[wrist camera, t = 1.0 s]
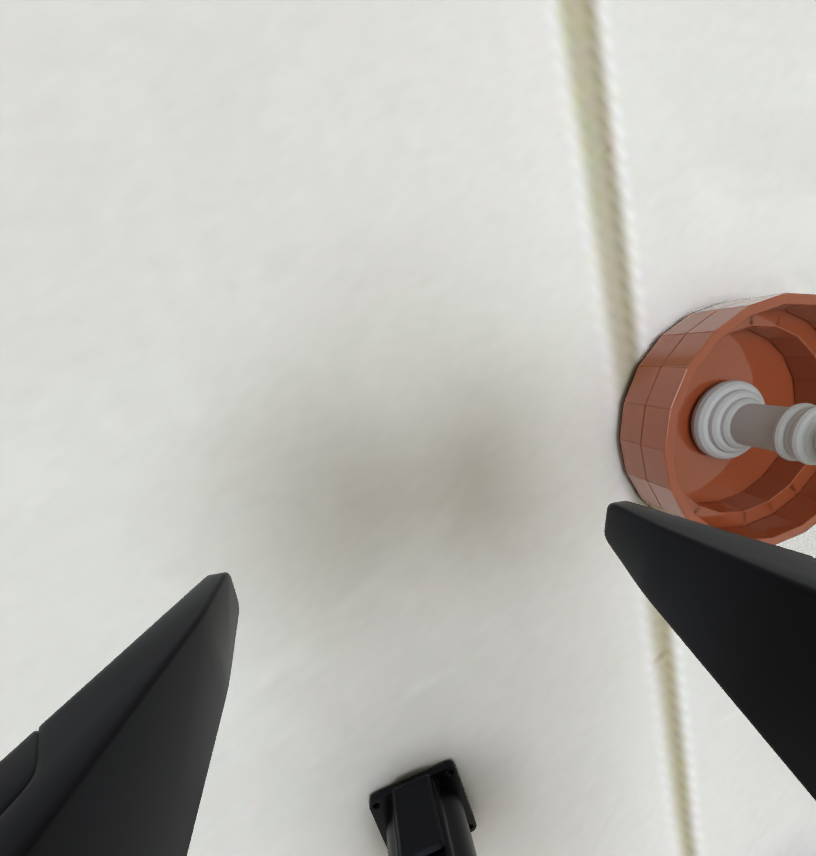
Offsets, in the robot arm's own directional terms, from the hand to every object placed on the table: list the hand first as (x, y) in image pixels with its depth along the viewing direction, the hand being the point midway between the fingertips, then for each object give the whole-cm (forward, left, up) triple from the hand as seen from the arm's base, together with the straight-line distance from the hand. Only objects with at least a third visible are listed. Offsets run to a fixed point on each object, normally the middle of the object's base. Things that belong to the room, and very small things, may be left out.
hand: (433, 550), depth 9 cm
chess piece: (-7, -22, -14) cm, 27 cm away
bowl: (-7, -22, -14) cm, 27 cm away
